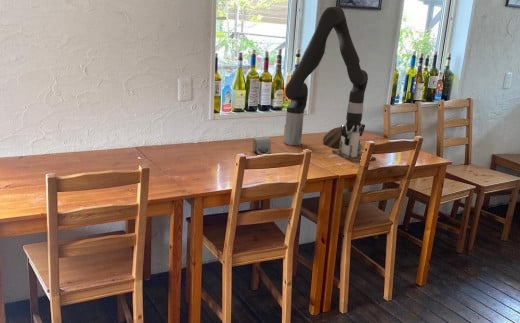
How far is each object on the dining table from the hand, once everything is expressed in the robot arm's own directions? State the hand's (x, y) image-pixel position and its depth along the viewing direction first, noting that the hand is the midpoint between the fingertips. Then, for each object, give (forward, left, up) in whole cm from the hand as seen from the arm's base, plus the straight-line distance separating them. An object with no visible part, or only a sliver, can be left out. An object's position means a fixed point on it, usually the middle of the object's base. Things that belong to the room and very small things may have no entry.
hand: (350, 144), depth 242 cm
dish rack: (0, +3, -6) cm, 7 cm away
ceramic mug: (-19, -40, -7) cm, 45 cm away
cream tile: (-1, 0, -5) cm, 5 cm away
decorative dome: (-21, +10, -7) cm, 24 cm away
